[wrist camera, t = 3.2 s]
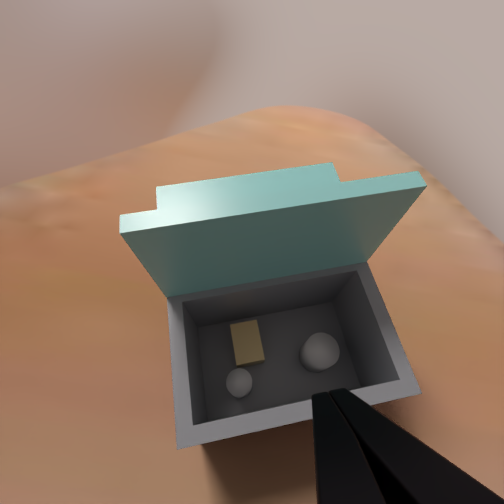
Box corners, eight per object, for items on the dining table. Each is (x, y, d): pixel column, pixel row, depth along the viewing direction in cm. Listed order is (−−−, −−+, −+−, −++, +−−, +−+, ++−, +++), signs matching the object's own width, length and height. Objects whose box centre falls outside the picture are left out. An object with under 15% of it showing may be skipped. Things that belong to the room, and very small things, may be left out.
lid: (366, 261, 14) (426, 186, 9) (166, 297, 13) (119, 233, 8) (328, 171, 16) (361, 76, 11) (159, 195, 15) (121, 102, 11)
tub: (372, 398, 15) (422, 393, 11) (198, 437, 15) (177, 449, 10) (311, 223, 20) (329, 172, 16) (180, 244, 20) (160, 196, 15)
